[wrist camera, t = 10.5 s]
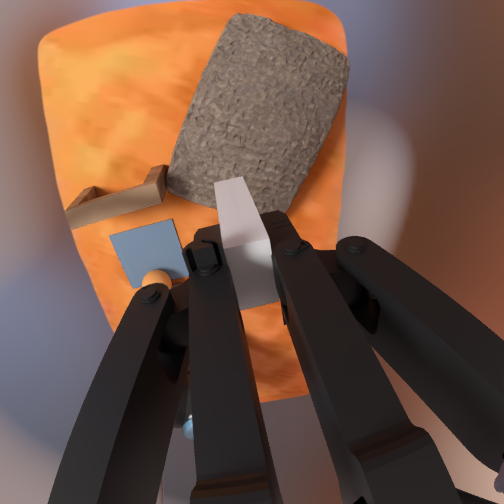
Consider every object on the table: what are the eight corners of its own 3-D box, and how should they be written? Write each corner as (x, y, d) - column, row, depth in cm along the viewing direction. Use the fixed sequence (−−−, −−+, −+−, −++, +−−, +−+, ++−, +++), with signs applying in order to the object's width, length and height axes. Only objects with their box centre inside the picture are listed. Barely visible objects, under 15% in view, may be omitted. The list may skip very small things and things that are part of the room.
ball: (177, 290, 57) (173, 301, 51) (150, 296, 56) (144, 307, 51) (169, 263, 56) (164, 271, 50) (142, 269, 55) (134, 278, 50)
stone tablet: (228, 11, 34) (163, 184, 47) (235, -3, 27) (157, 204, 40) (344, 62, 41) (275, 217, 54) (369, 61, 34) (288, 239, 47)
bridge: (168, 181, 47) (162, 203, 39) (90, 205, 46) (71, 230, 38) (163, 164, 45) (155, 182, 37) (84, 189, 44) (64, 211, 37)
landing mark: (190, 274, 57) (190, 275, 56) (133, 288, 56) (132, 288, 56) (171, 218, 50) (171, 219, 50) (109, 235, 50) (109, 236, 49)
